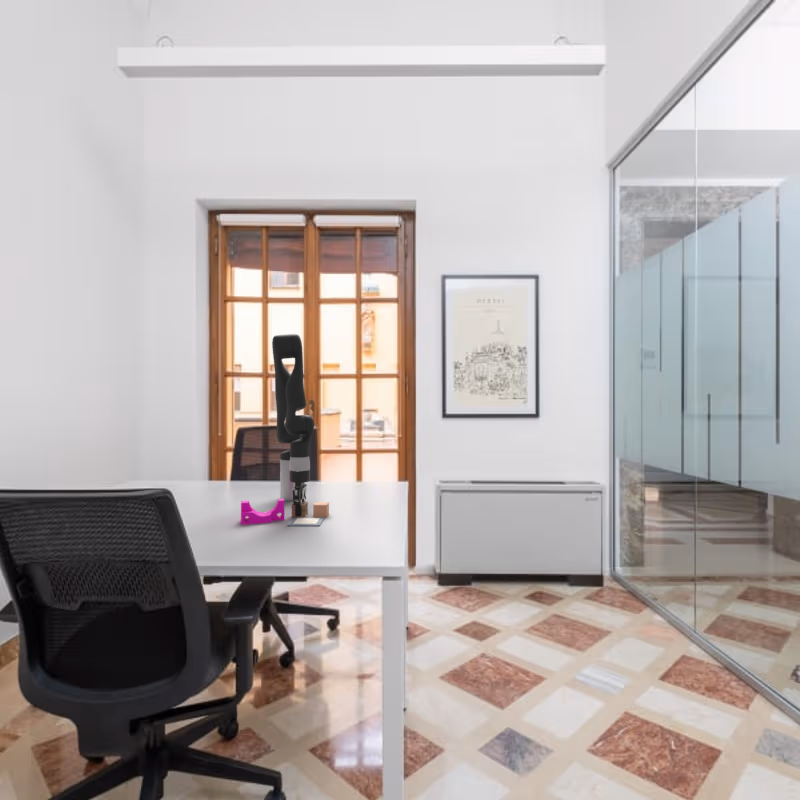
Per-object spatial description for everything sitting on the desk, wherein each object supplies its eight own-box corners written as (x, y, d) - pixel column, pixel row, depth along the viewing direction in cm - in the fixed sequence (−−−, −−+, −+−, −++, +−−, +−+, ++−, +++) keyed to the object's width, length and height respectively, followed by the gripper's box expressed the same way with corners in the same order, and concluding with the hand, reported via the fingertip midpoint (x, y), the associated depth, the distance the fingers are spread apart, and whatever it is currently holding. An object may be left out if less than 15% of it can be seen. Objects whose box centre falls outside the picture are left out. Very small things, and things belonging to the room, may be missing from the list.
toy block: (240, 525, 185) (240, 504, 185) (241, 521, 191) (241, 500, 191) (284, 523, 189) (284, 502, 189) (283, 519, 195) (283, 498, 195)
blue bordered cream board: (294, 519, 194) (294, 516, 194) (324, 519, 193) (324, 517, 193) (287, 527, 183) (287, 524, 183) (319, 527, 182) (319, 524, 182)
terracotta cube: (315, 515, 200) (315, 502, 200) (328, 515, 200) (328, 502, 200) (313, 518, 195) (313, 505, 195) (326, 518, 195) (326, 505, 195)
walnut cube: (294, 515, 201) (294, 501, 200) (307, 515, 200) (307, 501, 200) (291, 518, 196) (291, 504, 195) (305, 518, 195) (305, 504, 195)
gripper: (293, 465, 205) (293, 509, 205) (285, 471, 191) (285, 518, 191) (313, 466, 205) (313, 509, 205) (306, 471, 190) (306, 518, 191)
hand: (299, 513), depth 198 cm, fingers closed on walnut cube, 5 cm apart
